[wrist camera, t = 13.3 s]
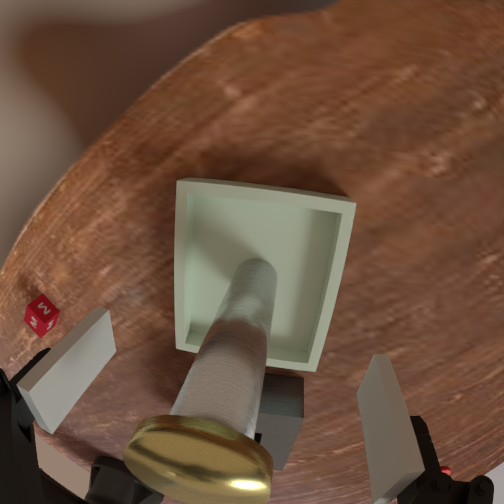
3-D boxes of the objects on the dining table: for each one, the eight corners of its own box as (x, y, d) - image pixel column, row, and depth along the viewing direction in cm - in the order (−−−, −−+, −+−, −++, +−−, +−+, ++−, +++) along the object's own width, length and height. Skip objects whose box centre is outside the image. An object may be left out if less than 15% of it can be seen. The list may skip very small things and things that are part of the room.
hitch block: (199, 422, 30) (188, 454, 25) (198, 361, 27) (183, 397, 22) (285, 436, 29) (282, 470, 24) (303, 378, 26) (303, 418, 21)
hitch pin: (222, 301, 23) (137, 488, 8) (226, 243, 22) (107, 424, 6) (283, 310, 23) (259, 517, 8) (293, 252, 21) (283, 467, 6)
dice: (43, 293, 27) (27, 305, 25) (60, 311, 28) (44, 324, 25) (39, 308, 28) (23, 320, 26) (55, 325, 29) (40, 338, 26)
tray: (185, 332, 26) (176, 348, 23) (189, 176, 21) (176, 180, 19) (314, 353, 25) (315, 371, 22) (349, 197, 20) (356, 203, 18)
